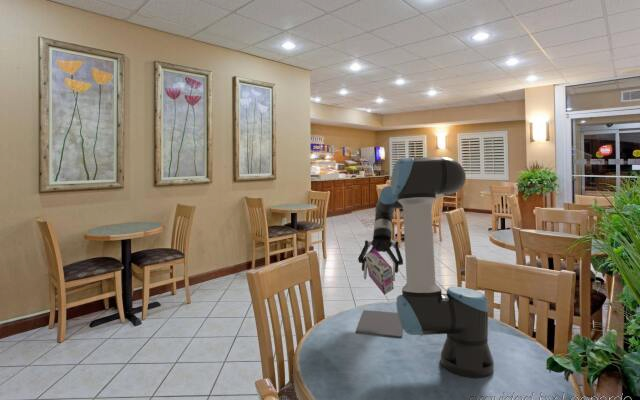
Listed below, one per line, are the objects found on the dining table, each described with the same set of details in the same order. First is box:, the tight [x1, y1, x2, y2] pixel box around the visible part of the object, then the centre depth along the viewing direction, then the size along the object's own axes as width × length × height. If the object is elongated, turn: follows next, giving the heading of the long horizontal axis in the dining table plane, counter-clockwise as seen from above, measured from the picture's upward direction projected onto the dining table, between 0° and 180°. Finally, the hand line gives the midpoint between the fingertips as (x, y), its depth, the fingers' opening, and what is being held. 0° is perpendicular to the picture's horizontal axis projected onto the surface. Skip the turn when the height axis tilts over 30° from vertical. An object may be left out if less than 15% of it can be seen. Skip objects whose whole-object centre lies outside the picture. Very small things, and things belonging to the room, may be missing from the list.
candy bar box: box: [364, 249, 395, 296], centre depth 142 cm, size 11×5×16 cm
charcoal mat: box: [355, 309, 404, 339], centre depth 143 cm, size 17×22×1 cm
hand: (379, 278), depth 140 cm, fingers closed on candy bar box, 10 cm apart
